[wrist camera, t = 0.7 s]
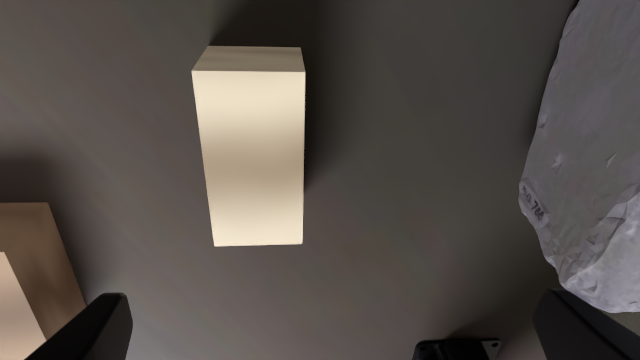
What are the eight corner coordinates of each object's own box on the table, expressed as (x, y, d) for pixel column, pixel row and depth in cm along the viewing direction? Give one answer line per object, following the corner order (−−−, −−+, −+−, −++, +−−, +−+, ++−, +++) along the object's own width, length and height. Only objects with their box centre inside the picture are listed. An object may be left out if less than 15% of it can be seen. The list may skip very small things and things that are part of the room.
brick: (88, 306, 25) (57, 365, 21) (19, 309, 24) (-23, 369, 21) (49, 200, 21) (3, 251, 17) (-34, 201, 20) (-97, 254, 17)
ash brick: (298, 196, 22) (302, 243, 18) (224, 197, 22) (214, 246, 18) (300, 46, 18) (305, 72, 14) (208, 44, 17) (191, 70, 14)
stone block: (560, -74, 16) (879, -86, 7) (662, -51, 17) (1057, -39, 8) (459, 178, 22) (573, 331, 13) (538, 187, 23) (692, 336, 14)
